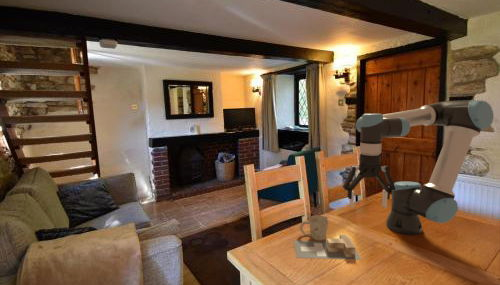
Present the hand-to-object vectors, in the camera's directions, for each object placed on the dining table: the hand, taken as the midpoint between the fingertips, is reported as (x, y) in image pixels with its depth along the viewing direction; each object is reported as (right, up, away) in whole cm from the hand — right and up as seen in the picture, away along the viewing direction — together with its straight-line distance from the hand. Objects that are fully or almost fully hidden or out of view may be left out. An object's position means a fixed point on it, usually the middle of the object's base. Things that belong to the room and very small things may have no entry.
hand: (367, 206), depth 103 cm
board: (-16, -20, +4) cm, 26 cm away
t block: (-10, -19, +3) cm, 22 cm away
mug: (-18, -19, +15) cm, 30 cm away
